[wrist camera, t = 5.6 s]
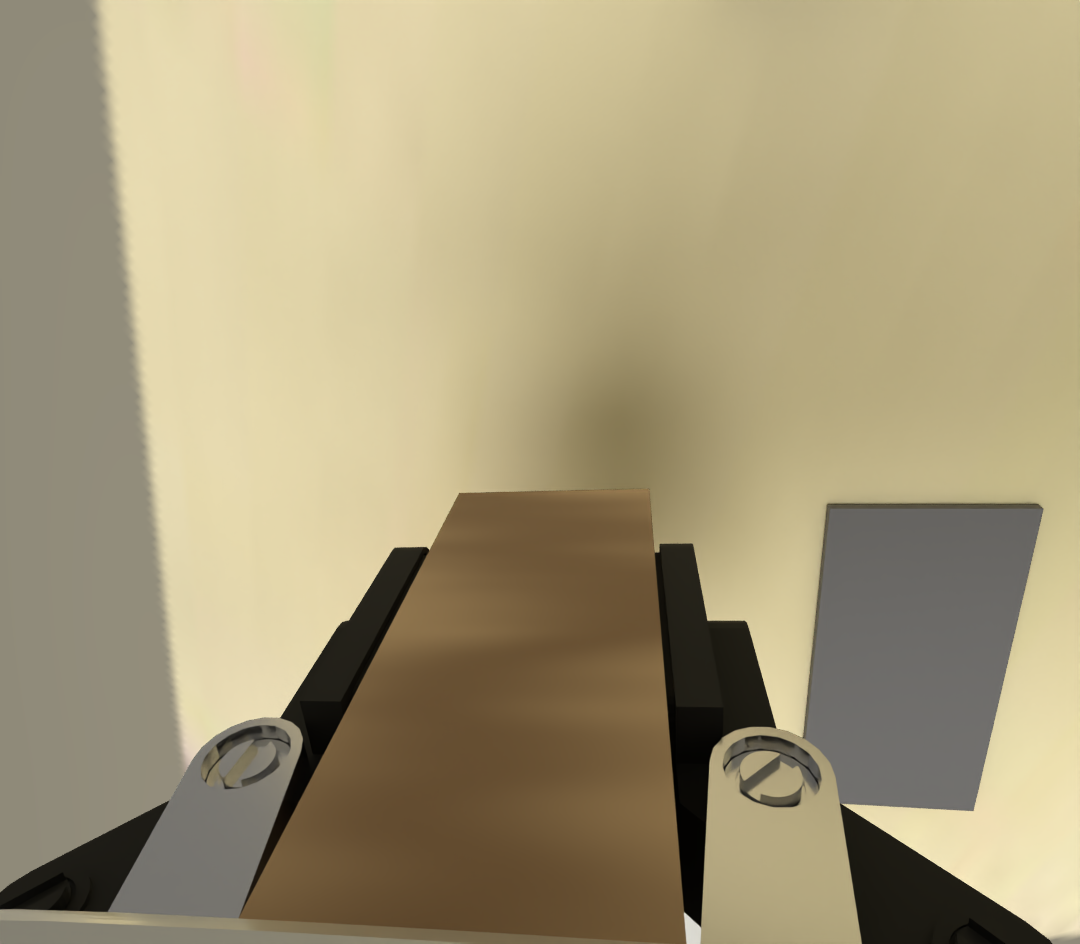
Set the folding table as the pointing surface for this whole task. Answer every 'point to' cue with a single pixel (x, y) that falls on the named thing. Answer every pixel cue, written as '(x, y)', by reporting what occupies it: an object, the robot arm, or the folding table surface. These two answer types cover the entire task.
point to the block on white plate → (504, 741)
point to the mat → (915, 646)
